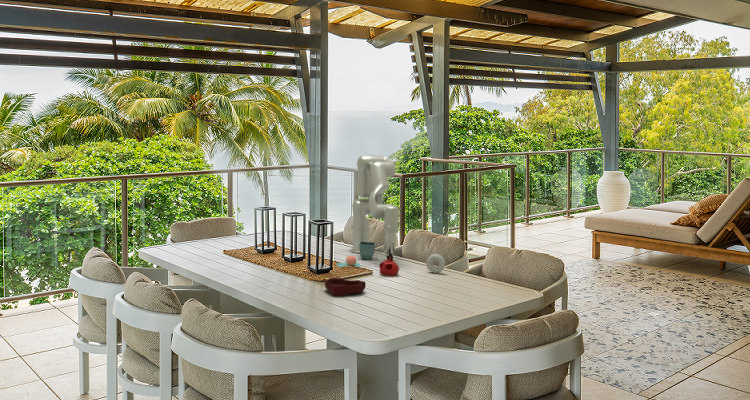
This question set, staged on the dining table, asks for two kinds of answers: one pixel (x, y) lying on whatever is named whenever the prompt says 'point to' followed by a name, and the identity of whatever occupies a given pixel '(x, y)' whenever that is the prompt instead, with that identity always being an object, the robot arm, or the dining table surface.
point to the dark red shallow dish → (344, 286)
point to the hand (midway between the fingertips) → (389, 263)
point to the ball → (351, 260)
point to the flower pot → (367, 250)
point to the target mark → (348, 265)
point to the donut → (440, 260)
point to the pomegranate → (389, 268)
